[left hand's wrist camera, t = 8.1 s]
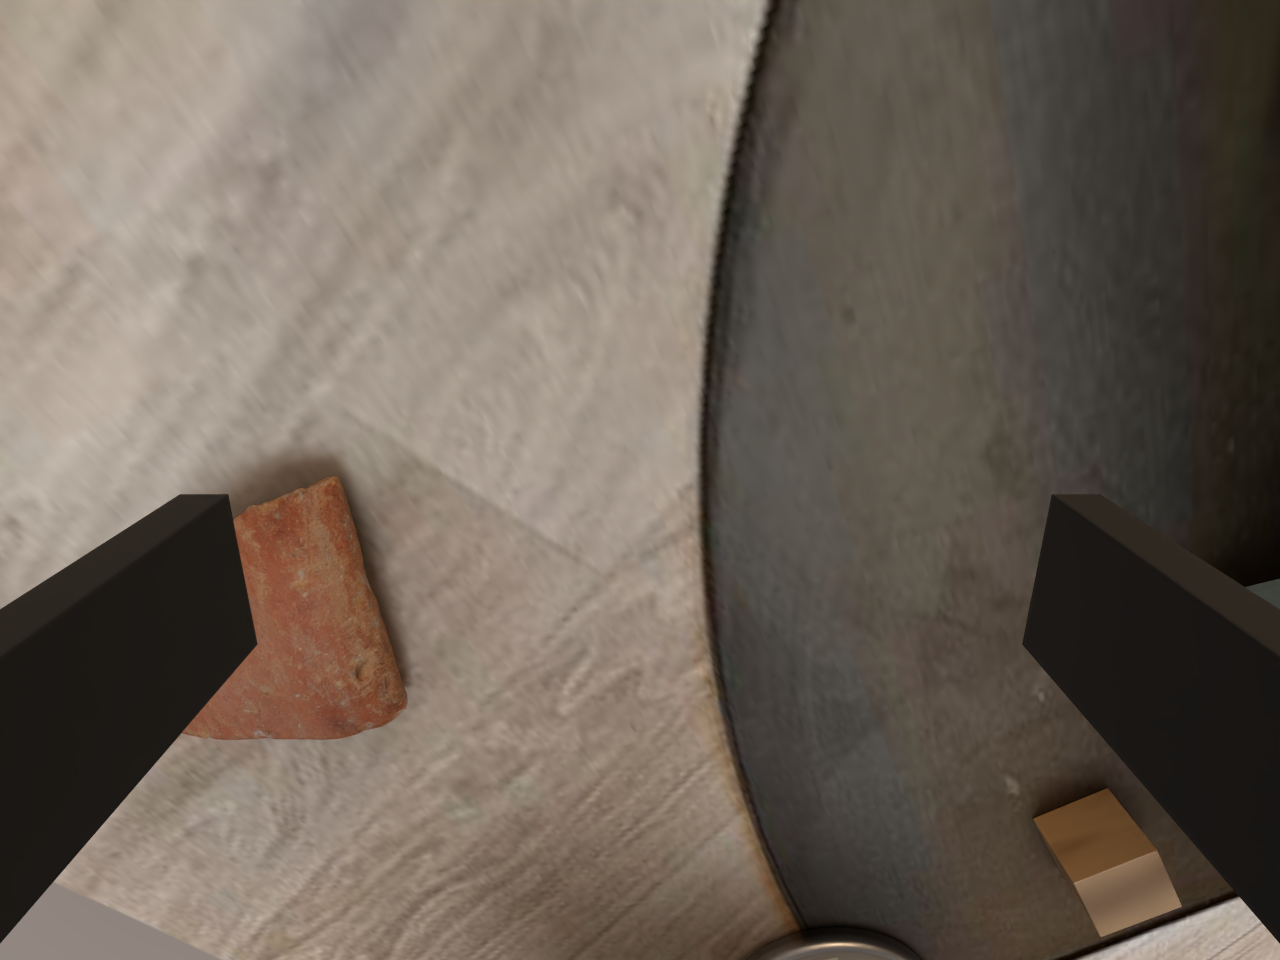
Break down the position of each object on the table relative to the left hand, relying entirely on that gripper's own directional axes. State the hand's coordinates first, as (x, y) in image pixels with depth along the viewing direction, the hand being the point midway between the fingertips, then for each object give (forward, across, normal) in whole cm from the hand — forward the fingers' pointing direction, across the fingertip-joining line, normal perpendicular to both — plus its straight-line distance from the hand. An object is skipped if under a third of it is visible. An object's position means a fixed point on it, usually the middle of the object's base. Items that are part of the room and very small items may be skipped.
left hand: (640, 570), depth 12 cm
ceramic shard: (+28, +22, +16) cm, 39 cm away
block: (+28, -29, +33) cm, 52 cm away
